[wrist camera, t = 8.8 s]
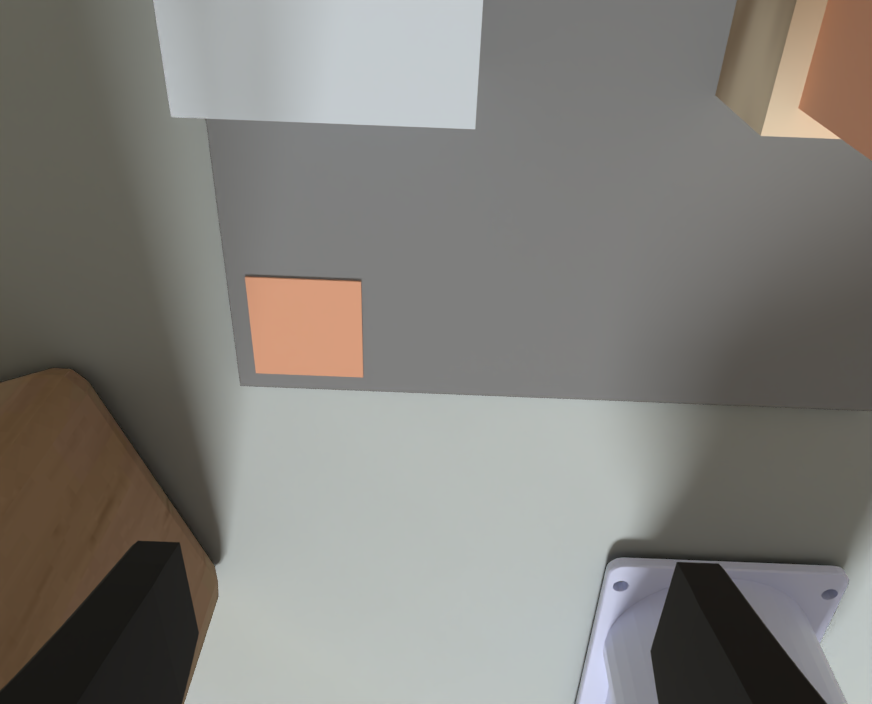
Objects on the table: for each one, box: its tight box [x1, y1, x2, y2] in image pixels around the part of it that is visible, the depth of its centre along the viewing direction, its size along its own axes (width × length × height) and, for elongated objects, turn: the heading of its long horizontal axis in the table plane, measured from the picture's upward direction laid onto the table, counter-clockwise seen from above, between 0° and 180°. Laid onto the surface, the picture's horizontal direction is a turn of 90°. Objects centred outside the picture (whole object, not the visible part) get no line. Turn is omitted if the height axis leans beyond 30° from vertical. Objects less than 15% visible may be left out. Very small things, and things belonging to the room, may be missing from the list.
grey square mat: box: [206, 0, 872, 411], centre depth 17 cm, size 16×18×1 cm
